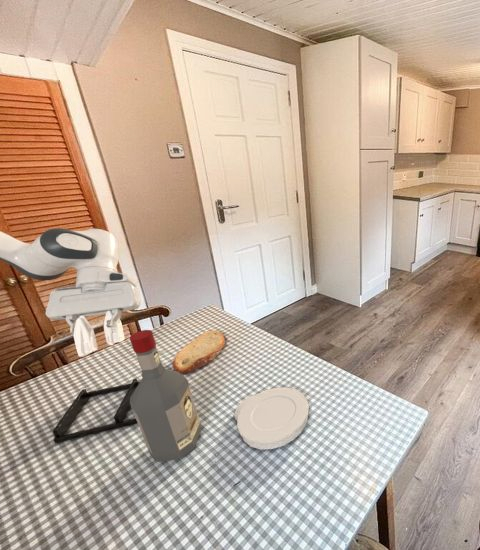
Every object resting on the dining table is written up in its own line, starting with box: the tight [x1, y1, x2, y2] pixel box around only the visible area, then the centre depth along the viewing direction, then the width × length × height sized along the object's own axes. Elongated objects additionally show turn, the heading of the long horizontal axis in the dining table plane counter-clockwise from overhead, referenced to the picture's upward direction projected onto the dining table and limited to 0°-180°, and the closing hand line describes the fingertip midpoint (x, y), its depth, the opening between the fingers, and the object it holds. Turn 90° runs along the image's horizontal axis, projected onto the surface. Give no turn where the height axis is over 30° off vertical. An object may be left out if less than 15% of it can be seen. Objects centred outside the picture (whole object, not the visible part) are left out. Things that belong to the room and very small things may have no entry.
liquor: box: [129, 329, 203, 463], centre depth 65 cm, size 9×9×30 cm
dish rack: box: [51, 378, 140, 444], centre depth 80 cm, size 19×16×3 cm
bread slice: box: [172, 330, 226, 375], centre depth 102 cm, size 18×18×4 cm
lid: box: [233, 386, 310, 450], centre depth 77 cm, size 17×20×3 cm
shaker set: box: [73, 311, 125, 358], centre depth 82 cm, size 12×4×11 cm, turn 159°
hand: (93, 329), depth 81 cm, fingers closed on shaker set, 6 cm apart
